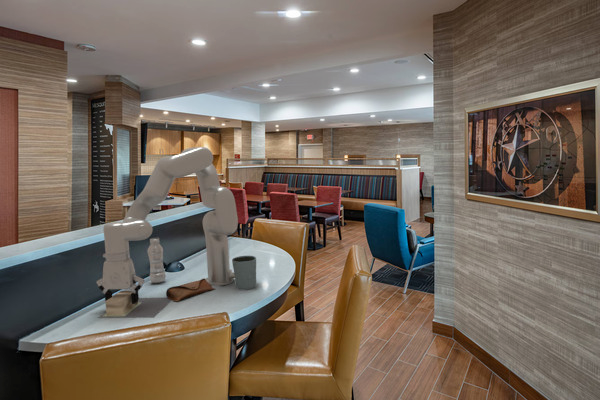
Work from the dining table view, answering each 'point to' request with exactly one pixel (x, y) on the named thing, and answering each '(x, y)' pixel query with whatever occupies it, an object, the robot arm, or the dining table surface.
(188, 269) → the dining table surface
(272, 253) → the dining table surface
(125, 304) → the card box
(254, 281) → the grey cup
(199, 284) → the sunglasses case
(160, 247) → the plastic bottle
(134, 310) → the mat
